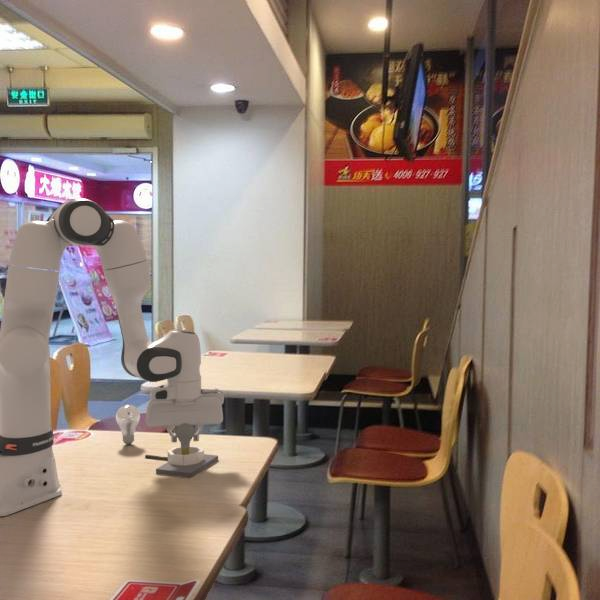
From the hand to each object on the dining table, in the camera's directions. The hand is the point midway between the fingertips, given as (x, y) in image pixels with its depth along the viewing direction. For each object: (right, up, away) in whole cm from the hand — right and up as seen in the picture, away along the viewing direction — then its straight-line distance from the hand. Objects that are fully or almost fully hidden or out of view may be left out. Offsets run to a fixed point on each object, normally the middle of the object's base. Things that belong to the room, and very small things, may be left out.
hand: (185, 441), depth 166 cm
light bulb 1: (-20, -6, +19) cm, 28 cm away
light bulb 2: (0, -4, 0) cm, 4 cm away
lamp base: (-4, -6, 0) cm, 7 cm away
